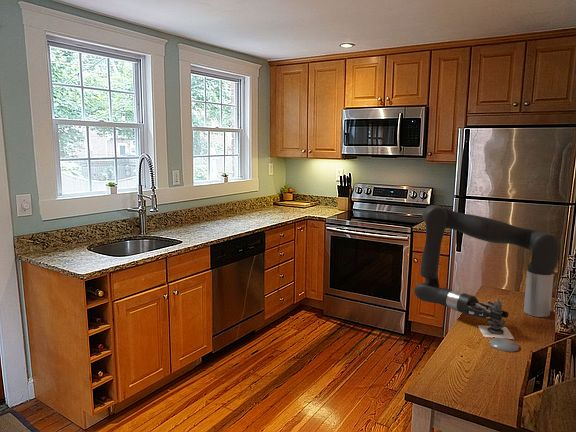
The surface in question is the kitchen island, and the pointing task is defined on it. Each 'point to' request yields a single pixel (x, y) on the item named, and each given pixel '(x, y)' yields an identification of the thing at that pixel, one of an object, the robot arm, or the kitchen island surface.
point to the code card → (489, 334)
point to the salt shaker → (496, 324)
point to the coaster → (504, 344)
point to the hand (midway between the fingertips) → (504, 316)
